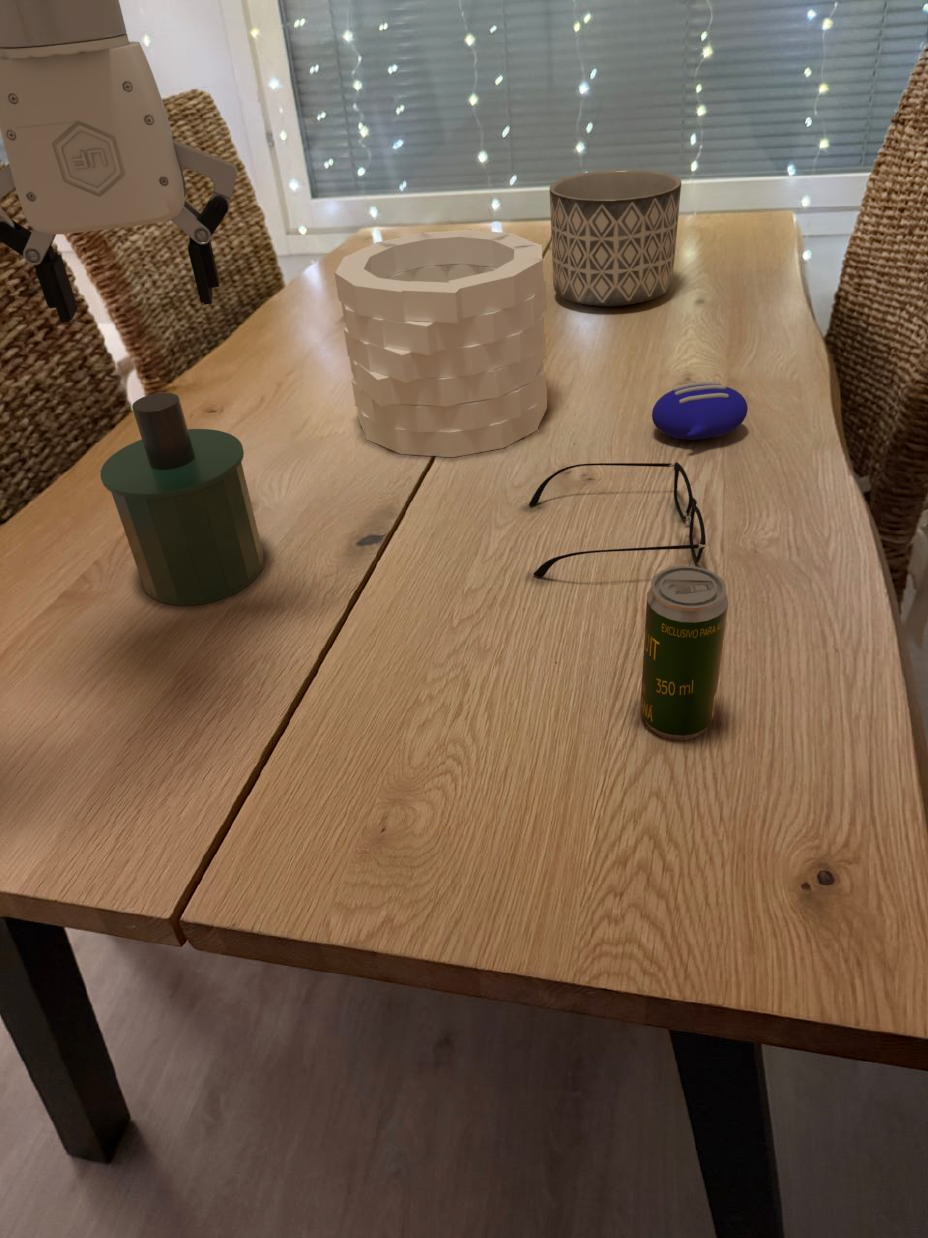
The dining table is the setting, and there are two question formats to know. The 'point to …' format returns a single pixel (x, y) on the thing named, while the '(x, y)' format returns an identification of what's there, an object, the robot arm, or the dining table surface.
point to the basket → (446, 340)
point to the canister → (194, 542)
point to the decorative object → (699, 411)
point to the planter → (614, 235)
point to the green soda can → (682, 651)
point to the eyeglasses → (692, 503)
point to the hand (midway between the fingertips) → (139, 307)
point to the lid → (169, 454)
